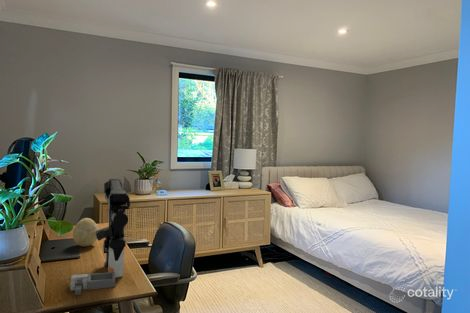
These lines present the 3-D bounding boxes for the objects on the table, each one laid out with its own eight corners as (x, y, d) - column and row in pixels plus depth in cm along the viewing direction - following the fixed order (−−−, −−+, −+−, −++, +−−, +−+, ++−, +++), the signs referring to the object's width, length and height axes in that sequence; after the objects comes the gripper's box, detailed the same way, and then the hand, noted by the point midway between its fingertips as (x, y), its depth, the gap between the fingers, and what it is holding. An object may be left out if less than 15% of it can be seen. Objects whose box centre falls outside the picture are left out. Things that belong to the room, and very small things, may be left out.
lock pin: (77, 282, 135) (77, 275, 135) (82, 282, 136) (83, 275, 136) (74, 295, 125) (75, 287, 125) (80, 294, 126) (81, 286, 126)
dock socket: (88, 281, 138) (88, 273, 138) (114, 278, 141) (114, 271, 141) (87, 289, 130) (87, 281, 130) (114, 286, 134) (115, 279, 134)
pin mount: (71, 284, 134) (72, 273, 134) (87, 282, 136) (88, 272, 136) (70, 290, 129) (70, 279, 128) (87, 289, 131) (87, 278, 130)
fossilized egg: (103, 244, 186) (104, 217, 185) (87, 251, 173) (88, 221, 173) (83, 241, 189) (84, 214, 188) (66, 247, 177) (67, 219, 176)
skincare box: (107, 274, 146) (108, 246, 145) (117, 271, 149) (118, 244, 148) (113, 278, 141) (114, 250, 141) (123, 276, 144) (124, 248, 144)
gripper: (97, 217, 150) (96, 252, 151) (96, 227, 133) (95, 267, 133) (124, 216, 154) (122, 250, 155) (126, 226, 137) (124, 264, 137)
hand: (116, 257), depth 145 cm, fingers closed on skincare box, 7 cm apart
